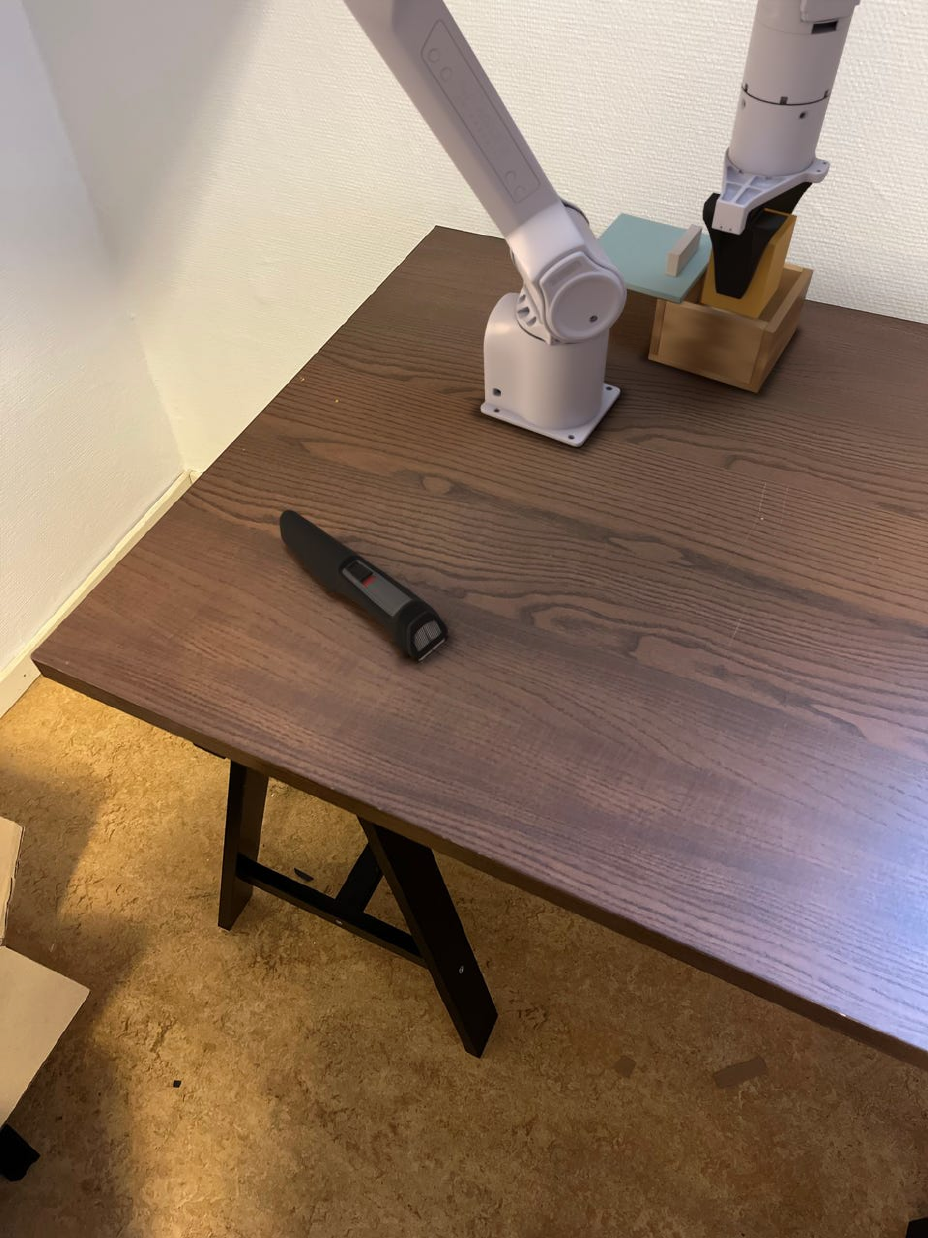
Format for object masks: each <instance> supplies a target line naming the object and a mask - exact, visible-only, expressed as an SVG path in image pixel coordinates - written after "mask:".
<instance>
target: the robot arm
mask: <svg viewBox="0 0 928 1238" xmlns="http://www.w3.org/2000/svg"><path fill="white" fill-rule="evenodd" d="M342 1H343V3H344V5H345V6H346V8H347V9H348V11H349V12H350V14H351V15H352V17H353V18H354V19H355V21H356V23H357V24H358V26H359V27H360V29H361V30H362V32H363V33H364V35H365V36H366V37H367V39H368V40H369V42H370V43H371V45H372V46H373V47H374V49H375V50H376V52H377V53H378V55H379V56H380V58H381V60H382V61H383V62H384V64H385V65H386V67H387V68H388V69H389V72H391V75H392V76H393V77H394V78H395V80H396V81H397V83H398V84H399V86H400V87H401V89H402V90H403V92H404V93H405V94H406V96H407V97H408V99H409V100H410V102H411V104H412V105H413V107H414V108H415V110H416V111H417V112H418V113H419V115H420V116H421V118H422V120H424V122H425V124H426V125H427V127H428V128H429V130H430V131H431V133H432V134H433V136H434V137H435V139H436V140H437V141H438V143H439V144H440V146H441V148H442V149H443V151H444V152H445V153H446V154H447V156H448V158H449V159H450V161H451V163H453V165H454V166H455V168H456V169H457V171H458V172H459V174H460V175H461V176H462V178H463V180H464V181H465V183H466V184H467V185H468V187H469V188H470V190H471V191H472V193H473V194H474V195H475V197H476V199H477V200H478V201H479V203H480V205H481V206H482V208H483V209H484V210H485V212H486V214H487V215H488V216H489V217H490V219H491V221H492V222H493V223H494V225H495V226H496V228H497V229H498V231H499V233H500V234H501V236H502V237H503V238H504V240H505V242H506V244H507V245H508V247H509V255H510V258H511V261H512V263H513V265H514V267H515V269H516V270H517V272H518V273H519V274H520V276H521V279H522V280H523V285H522V288H521V290H520V292H508V293H506V294H504V295H503V296H502V297H501V298H500V299H499V300H498V302H497V303H496V304H495V305H494V308H493V309H492V311H491V313H490V316H489V317H488V320H487V323H486V328H485V332H484V339H483V362H484V363H483V369H484V397H485V398H484V402H483V403H482V404H481V405H480V412H481V413H482V414H484V415H486V416H490V417H493V418H495V419H498V420H501V421H504V422H507V423H509V424H511V425H514V426H517V427H520V428H523V429H526V430H529V431H531V432H533V433H537V434H540V435H543V436H545V437H548V438H550V439H552V440H556V441H558V442H560V443H561V442H562V443H564V444H567V445H569V446H572V447H581V446H583V444H584V443H585V442H586V441H587V439H588V438H589V437H590V435H591V434H592V432H593V431H594V430H595V429H596V427H597V426H598V424H599V423H600V422H601V420H602V419H603V418H604V416H605V415H606V413H608V411H609V410H610V408H611V407H612V406H613V404H614V403H615V402H616V401H617V399H618V398H619V396H620V395H621V389H620V388H619V387H617V386H615V385H612V384H608V383H605V377H606V376H605V375H606V366H607V357H608V347H609V338H610V330H611V329H610V328H611V327H613V325H614V324H615V323H616V322H617V321H618V319H619V317H620V316H621V314H622V313H623V311H624V308H625V305H626V301H627V296H628V292H627V290H628V289H627V288H626V283H625V280H624V278H623V276H622V274H621V273H620V271H619V270H618V269H617V268H616V266H614V265H613V264H612V263H611V261H610V259H609V258H608V256H607V254H606V253H605V251H604V250H603V248H602V246H601V245H600V243H599V241H598V240H597V239H598V238H597V237H596V235H595V233H594V231H593V230H592V228H591V226H590V221H589V218H587V215H586V214H585V212H584V211H583V210H582V209H581V207H579V206H577V205H576V204H575V203H573V202H571V201H568V200H566V199H565V198H563V197H562V196H561V195H559V193H558V192H557V191H556V190H555V188H554V186H553V184H552V183H551V181H550V179H549V178H548V176H547V174H546V173H545V171H544V169H543V167H542V166H541V164H540V163H539V160H538V159H537V157H536V156H535V153H534V152H533V151H532V149H531V147H530V145H529V144H528V142H527V141H526V139H525V137H524V136H523V134H522V132H521V130H520V128H519V127H518V125H517V123H516V122H515V120H514V119H513V117H512V114H511V113H510V112H509V110H508V108H507V106H506V105H505V103H504V101H503V100H502V98H501V96H500V95H499V93H498V91H497V89H496V88H495V86H494V85H493V83H492V81H491V80H490V78H489V76H488V73H486V71H485V69H484V68H483V66H482V64H481V63H480V61H479V59H478V58H477V55H476V54H475V52H474V51H473V49H472V47H471V46H470V43H469V42H468V40H467V39H466V37H465V35H464V34H463V32H462V29H460V26H459V25H458V23H457V22H456V20H455V18H454V17H453V15H452V13H451V12H450V10H449V8H448V6H447V5H446V3H445V1H444V0H342ZM860 4H861V0H757V3H756V8H755V13H754V18H753V24H752V28H751V34H750V38H749V43H748V49H747V54H746V58H745V65H744V69H743V75H742V79H741V80H742V81H741V83H740V84H741V85H740V89H739V95H738V100H737V105H736V111H735V116H734V119H733V121H734V122H733V125H732V131H731V136H730V142H729V146H728V147H727V148H726V149H725V152H724V157H723V162H722V177H721V193H718V192H712V193H711V194H710V195H709V196H708V198H707V199H706V200H705V201H704V203H703V207H702V214H701V215H702V221H703V223H704V225H705V227H706V230H707V233H708V235H709V236H710V239H711V243H712V248H713V256H714V275H715V288H716V293H718V294H722V295H725V296H729V297H732V298H736V299H741V298H742V297H743V296H744V294H745V292H746V291H747V289H748V287H749V285H750V283H751V281H752V279H753V276H754V274H755V272H756V269H757V266H758V264H759V261H760V259H761V257H762V255H763V253H764V251H765V249H766V247H767V245H768V243H769V241H770V240H771V238H772V237H773V236H774V235H775V233H776V232H777V231H778V230H779V229H780V228H781V226H782V225H783V224H784V222H785V221H786V219H787V218H788V216H786V215H782V214H778V213H774V212H770V211H765V208H767V209H771V210H775V211H779V212H783V213H788V214H792V215H793V213H794V210H795V209H796V207H797V206H798V204H799V202H800V200H801V199H802V197H803V196H804V195H805V194H806V192H807V191H808V190H809V188H810V187H811V186H812V185H813V184H819V183H822V182H823V181H824V180H825V178H826V177H827V175H828V174H829V170H830V167H831V162H829V161H828V160H825V159H821V158H818V157H817V155H816V150H817V146H818V143H819V140H820V136H821V131H822V128H823V125H824V122H825V121H824V120H825V118H826V113H827V110H828V106H829V103H830V100H831V96H832V91H833V88H834V85H835V81H836V78H837V74H838V71H839V67H840V63H841V60H842V56H843V53H844V52H843V51H844V48H845V44H846V42H847V37H848V34H849V31H850V26H851V23H852V19H853V16H854V11H855V8H856V6H860Z"/></svg>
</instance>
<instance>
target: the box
mask: <svg viewBox="0 0 928 1238" xmlns="http://www.w3.org/2000/svg"><path fill="white" fill-rule="evenodd" d="M707 269H708V267H707ZM707 269H706V270H705V271H704V273H703V274H702V275H701V276H700V278H699V279H698V280H697V282H696V283H695V284H694V286H693V287H692V288H691V290H690V291H689V292H688V294H687V295H686V296H685V297H684V299H683V300H682V301H681V303H676V302H672V301H669V300H665V299H662V298H658V297H657V299H656V307H655V313H654V319H653V324H652V331H651V339H650V345H649V352H648V360H651V361H654V362H657V363H660V364H663V365H666V366H669V367H672V368H674V369H675V368H676V369H679V370H682V371H686V372H689V373H692V374H695V375H698V376H701V377H705V378H708V379H711V380H714V381H717V382H720V383H724V384H726V385H730V386H733V387H736V388H739V389H743V390H746V391H749V392H753V393H755V394H758V393H759V391H760V389H761V387H762V386H763V384H764V383H765V381H766V379H767V378H768V377H769V375H770V374H771V371H772V370H773V368H774V366H775V365H776V363H777V362H778V360H779V358H780V356H781V355H782V353H783V352H784V350H785V348H787V345H788V344H789V342H790V340H791V339H792V337H793V335H794V334H795V332H796V330H797V327H798V325H799V324H798V323H799V321H800V317H801V313H802V311H803V307H804V304H805V301H806V298H807V295H808V291H809V288H810V285H811V283H812V278H813V275H814V269H812V268H807V267H805V266H800V265H796V264H792V263H789V262H785V263H784V267H783V270H782V274H781V278H780V281H779V285H778V289H777V290H776V292H775V293H774V295H773V296H772V297H771V299H770V300H769V302H768V303H767V305H766V306H765V308H764V309H763V311H762V312H761V314H760V315H759V316H758V318H757V319H756V318H752V317H749V316H745V315H742V314H738V313H735V312H731V311H728V310H724V309H721V308H717V307H714V306H710V305H707V304H703V303H701V299H702V294H703V289H704V284H705V279H706V274H707Z"/></svg>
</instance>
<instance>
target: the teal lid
mask: <svg viewBox="0 0 928 1238" xmlns="http://www.w3.org/2000/svg"><path fill="white" fill-rule="evenodd" d="M597 240H598V241H599V243H600V245H601V246H602V248H603V250H604V251H605V253H606V254H607V256H608V258H609V259H610V261H611V263H612V264H613V265H614V266H616V268H617V269H618V270H619V271H620V273H621V274H622V276H623V278H624V280H625V283H626V289H627V290H630V291H634V292H638V293H640V294H641V293H642V294H644V295H648V296H651V297H655V298H657V299H658V298H662V299H665V300H669V301H672V302H676V303H681V301H682V300H683V299H684V297H685V296H686V295H687V294H688V292H689V291H690V290H691V288H692V287H693V286H694V284H695V283H696V282H697V280H698V279H699V278H700V276H701V275H702V274H703V273H704V271H705V270H706V269H707V267H708V263H709V258H710V253H711V248H712V243H711V239H710V236H709V234H707V233H703V226H702V225H697V224H694V223H692V224H691V225H690V226H689V227H687V229H686V228H684V227H683V228H682V227H680V226H675V225H670V224H667V223H663V222H658V221H655V220H651V219H647V218H644V217H640V216H635V215H631V214H628V213H624V212H621V213H620V214H619V215H618V216H617V217H616V218H615V219H614V220H613V221H612V223H611V224H610V225H608V226H607V228H606V229H604V231H603V232H602V233H601V234H600V235H599V236H598V238H597Z"/></svg>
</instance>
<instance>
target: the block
mask: <svg viewBox="0 0 928 1238" xmlns="http://www.w3.org/2000/svg"><path fill="white" fill-rule="evenodd" d="M765 211H770V212H774V213H778V214H782V215H786V216H788V218H787V219H786V221H785V222H784V224H783V225H782V226H781V228H780V229H779V230H778V231H777V232H776V233H775V235H774V236H773V237H772V238H771V240H770V241H769V243H768V245H767V247H766V249H765V251H764V253H763V255H762V257H761V259H760V261H759V264H758V266H757V269H756V272H755V274H754V276H753V279H752V281H751V283H750V285H749V287H748V289H747V291H746V292H745V294H744V296H743V297H742V298H741V299H736V298H732V297H729V296H725V295H722V294H718V293H716V288H715V275H714V256H713V248H711V253H710V258H709V263H708V269H707V274H706V279H705V284H704V289H703V294H702V299H701V303H703V304H707V305H710V306H714V307H717V308H721V309H724V310H728V311H731V312H735V313H738V314H742V315H745V316H749V317H752V318H756V319H757V318H758V316H759V315H760V314H761V312H762V311H763V309H764V308H765V306H766V305H767V303H768V302H769V300H770V299H771V297H772V296H773V295H774V293H775V292H776V290H777V289H778V285H779V281H780V278H781V274H782V270H783V267H784V263H786V259H787V255H788V253H789V248H790V245H791V240H792V238H793V233H794V231H795V226H796V224H797V223H796V222H797V219H798V215H796V214H793V213H792V214H788V213H783V212H779V211H775V210H771V209H767V208H765Z"/></svg>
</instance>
